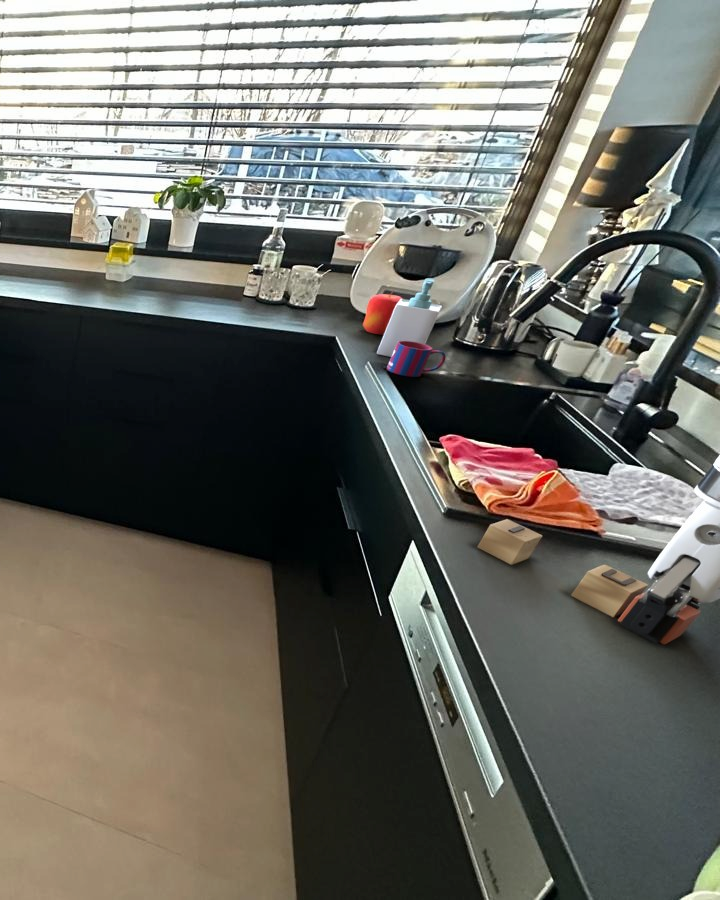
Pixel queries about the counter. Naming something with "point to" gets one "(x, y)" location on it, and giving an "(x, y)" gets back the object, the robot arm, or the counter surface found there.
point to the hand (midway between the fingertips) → (648, 628)
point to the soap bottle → (410, 320)
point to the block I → (509, 541)
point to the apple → (380, 312)
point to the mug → (412, 359)
